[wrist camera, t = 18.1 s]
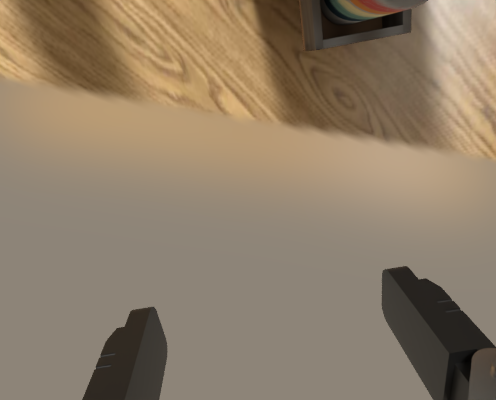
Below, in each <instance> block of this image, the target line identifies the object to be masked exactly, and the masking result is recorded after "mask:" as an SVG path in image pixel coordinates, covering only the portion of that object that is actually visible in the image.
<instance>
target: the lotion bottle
mask: <svg viewBox="0 0 496 400" xmlns="http://www.w3.org/2000/svg"><path fill="white" fill-rule="evenodd" d="M426 1H428V0H320V7H321V10H322V12H323V14H324V15H325V17H326V18H327V19H328V20H329V21H331V22H333V23H335V24H338V25H348V24H353V23H357V22H361V21H365V20H369V19H373V18H377V17H381V16H385V15H389V14H393V13H397V12H400V11H404V10H408V9H411V8H414V7H417V6H419V5H421V4H423V3H425V2H426Z"/></svg>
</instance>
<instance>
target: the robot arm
mask: <svg viewBox="0 0 496 400" xmlns="http://www.w3.org/2000/svg"><path fill="white" fill-rule="evenodd" d="M382 309H383V313H384V317H385V319H386V321H387V323H388V325H389V327H390V328H391V330H392V331H393V333H394V335H395V336H396V338H397V340H398V342H399V343H400V345H401V347H402V348H403V350H404V352H405V353H406V355H407V356H408V358H409V360H410V362H411V363H412V365H413V367H414V368H415V370H416V372H417V373H418V375H419V377H420V378H421V380H422V382H423V383H424V385H425V387H426V388H427V390H428V391H429V393H430V395H431V397H432V398H433V400H496V347H495V346H494V345H493V343H492V342H491V341H490V340H489V339H488V338H487V337H486V336H485V335H484V334H483V333H482V332H481V331H480V329H479V328H478V327H477V326H476V325H475V324H474V323H473V322H472V321H471V319H470V318H469V317H468V316H467V315H466V314H465V313H464V312H463V311H461V310H460V308H459V306H458V305H457V304H456V303H455V302H454V301H452V299H451V298H450V297H449V295H448V294H447V293H446V292H445V291H444V290H443V289H442V288H441V287H440V286H438V285H436V284H435V283H433V282H431V281H429V280H428V279H420V280H419V279H418V278H417V277H416V276H415V275H414V274H413V272H412V271H411V270H410V269H409V268H408V267H407V266H403V267H398V268H391V269H385V270H383V273H382ZM166 360H167V342H166V338H165V335H164V332H163V329H162V326H161V323H160V320H159V317H158V314H157V311H156V309H155V308H154V307H148V308H143V309H136V310H132V311H131V312H130V314H129V317H128V319H127V322H126V325H125V327H121V328H117V329H116V330H115V331H114V332H113V334H112V335H111V336H110V337H109V338H108V340H107V341H106V343H105V345H104V348H103V350H102V353H101V358H99V360H98V363H97V365H96V370H94V373H93V375H92V377H91V380H90V382H89V385H88V387H87V390H86V392H85V395H84V397H83V399H82V400H159V397H160V392H161V387H162V381H163V376H164V371H165V365H166Z"/></svg>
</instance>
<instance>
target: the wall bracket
mask: <svg viewBox="0 0 496 400" xmlns="http://www.w3.org/2000/svg"><path fill="white" fill-rule="evenodd" d="M299 7H300V17H301V27H302V37H303V47H304V51H312V50H320V49H325V48H330V47H336V46H341V45H346V44H351V43H357V42H362V41H367V40H373V39H378V38H383V37H388V36H394V35H399V34H404V33H409V32H411V9H408V10H404V11H400V12H397V13H393V14H389V15H385V16H381V17H377V18H373V19H369V20H365V21H361V22H357V23H353V24H348V25H338V24H335V23H333V22H331V21H329V20H328V19H327V18H326V17H325V15H324V14H323V12H322V10H321V7H320V0H299Z"/></svg>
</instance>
